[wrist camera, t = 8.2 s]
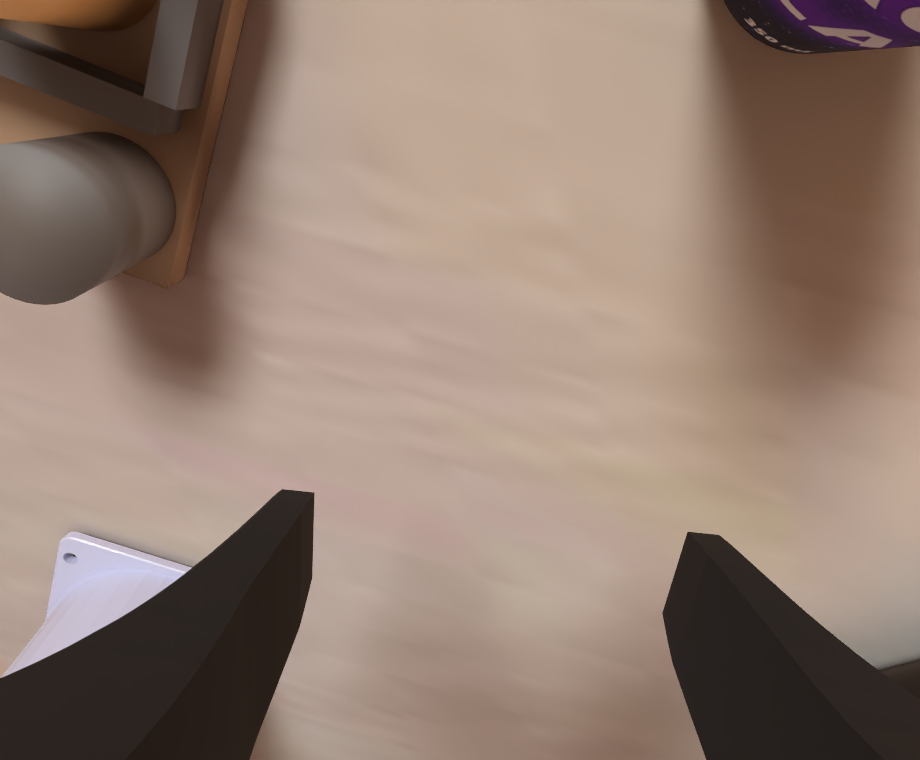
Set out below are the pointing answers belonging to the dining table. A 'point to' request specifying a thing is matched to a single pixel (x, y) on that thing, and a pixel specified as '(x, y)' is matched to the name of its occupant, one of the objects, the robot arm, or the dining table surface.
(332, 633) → the dining table surface
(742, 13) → the beverage can
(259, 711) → the robot arm
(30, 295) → the housing
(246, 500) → the dining table surface
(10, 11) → the orange capsule
